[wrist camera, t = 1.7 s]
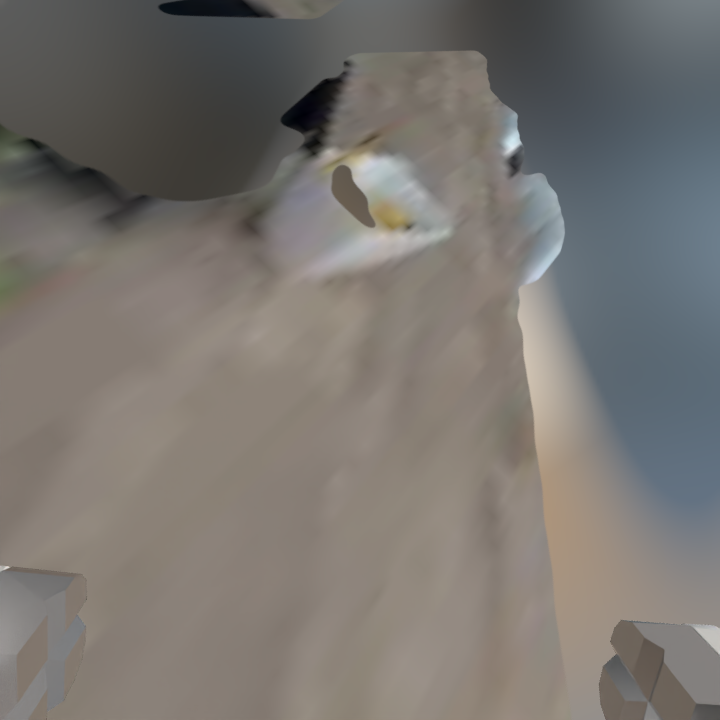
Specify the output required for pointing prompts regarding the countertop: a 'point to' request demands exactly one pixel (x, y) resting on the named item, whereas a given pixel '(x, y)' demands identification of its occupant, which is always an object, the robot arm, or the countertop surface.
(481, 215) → the countertop surface
